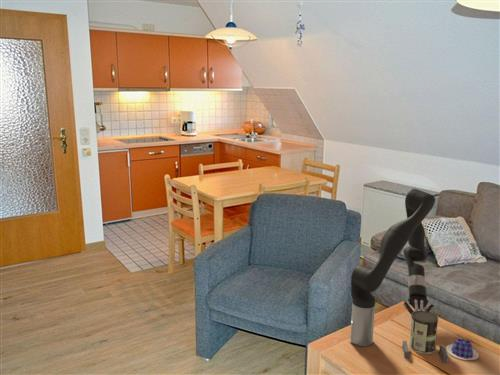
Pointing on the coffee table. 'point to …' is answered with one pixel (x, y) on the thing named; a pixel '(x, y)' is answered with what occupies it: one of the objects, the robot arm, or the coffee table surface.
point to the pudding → (462, 349)
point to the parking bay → (442, 351)
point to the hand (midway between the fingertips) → (419, 324)
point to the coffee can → (423, 332)
